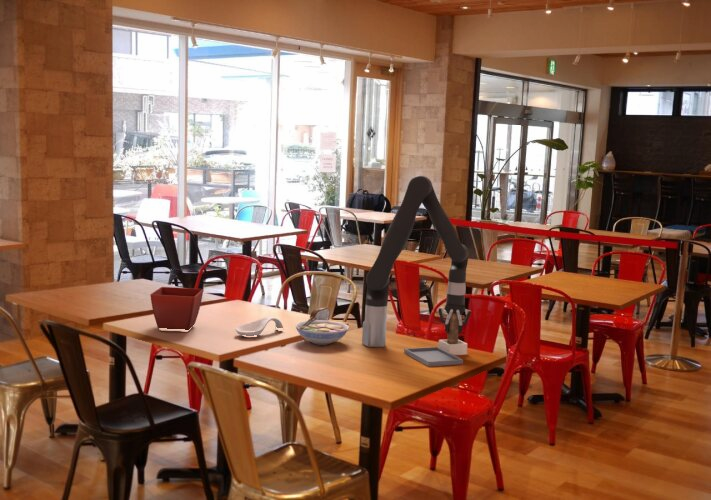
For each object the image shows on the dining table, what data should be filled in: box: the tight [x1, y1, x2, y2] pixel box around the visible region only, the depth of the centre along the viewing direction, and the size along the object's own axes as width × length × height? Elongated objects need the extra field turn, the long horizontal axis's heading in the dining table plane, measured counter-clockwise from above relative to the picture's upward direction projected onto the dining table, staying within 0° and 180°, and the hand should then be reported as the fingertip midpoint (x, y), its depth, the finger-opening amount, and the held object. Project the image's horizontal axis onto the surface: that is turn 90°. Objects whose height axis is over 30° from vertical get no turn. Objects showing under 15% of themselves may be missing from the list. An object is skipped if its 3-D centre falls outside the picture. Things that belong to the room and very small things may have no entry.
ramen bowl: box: [295, 317, 350, 346], centre depth 339 cm, size 25×23×8 cm
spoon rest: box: [235, 316, 284, 336], centre depth 349 cm, size 24×12×7 cm, turn 138°
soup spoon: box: [309, 306, 331, 321], centre depth 372 cm, size 15×3×8 cm, turn 152°
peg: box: [447, 313, 459, 344], centre depth 332 cm, size 3×3×14 cm
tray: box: [403, 346, 464, 367], centre depth 322 cm, size 15×21×2 cm
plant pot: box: [149, 286, 204, 330], centre depth 351 cm, size 19×19×17 cm
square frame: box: [438, 339, 468, 356], centre depth 333 cm, size 9×9×4 cm
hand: (453, 333), depth 332 cm, fingers closed on peg, 4 cm apart
